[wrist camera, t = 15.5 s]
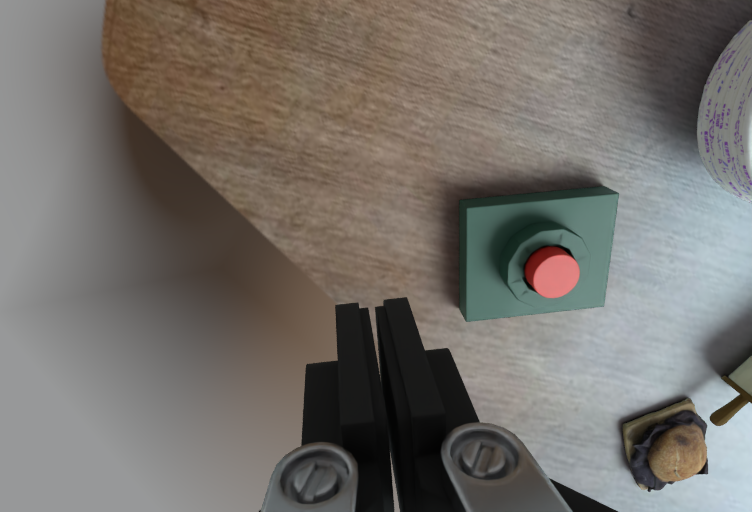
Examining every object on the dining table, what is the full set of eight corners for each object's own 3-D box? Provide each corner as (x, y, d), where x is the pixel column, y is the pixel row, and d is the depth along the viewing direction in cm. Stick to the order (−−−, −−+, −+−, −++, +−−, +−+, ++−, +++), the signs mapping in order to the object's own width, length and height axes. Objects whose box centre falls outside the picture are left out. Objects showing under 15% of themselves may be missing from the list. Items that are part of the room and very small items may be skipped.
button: (522, 290, 39) (531, 300, 37) (525, 248, 37) (534, 257, 35) (567, 285, 39) (577, 295, 37) (571, 243, 37) (582, 252, 36)
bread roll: (614, 422, 50) (635, 449, 47) (694, 392, 49) (721, 417, 46) (633, 490, 54) (653, 519, 51) (706, 463, 54) (732, 491, 50)
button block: (459, 309, 43) (471, 333, 39) (459, 199, 39) (473, 215, 35) (591, 294, 44) (616, 317, 40) (604, 185, 40) (632, 199, 36)
